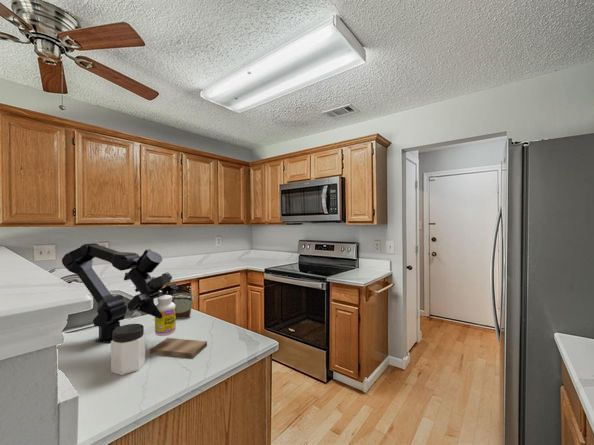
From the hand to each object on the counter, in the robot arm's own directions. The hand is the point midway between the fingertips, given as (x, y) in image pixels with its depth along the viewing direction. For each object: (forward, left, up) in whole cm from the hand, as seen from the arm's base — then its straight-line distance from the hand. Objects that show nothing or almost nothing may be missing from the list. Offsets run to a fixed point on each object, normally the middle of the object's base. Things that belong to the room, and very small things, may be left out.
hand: (168, 314), depth 97 cm
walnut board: (+5, 0, -12) cm, 13 cm away
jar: (-4, -14, -12) cm, 19 cm away
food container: (-14, +30, -12) cm, 36 cm away
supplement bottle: (-1, 0, -7) cm, 7 cm away
